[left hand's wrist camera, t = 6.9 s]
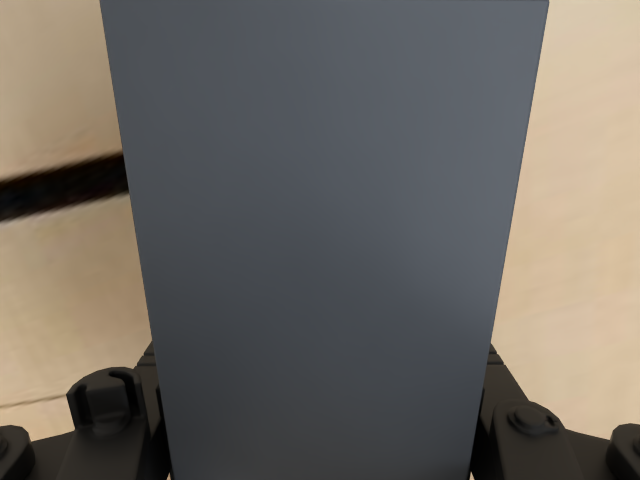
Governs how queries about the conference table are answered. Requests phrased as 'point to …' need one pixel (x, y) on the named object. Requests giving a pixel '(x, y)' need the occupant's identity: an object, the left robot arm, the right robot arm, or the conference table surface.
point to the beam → (322, 223)
